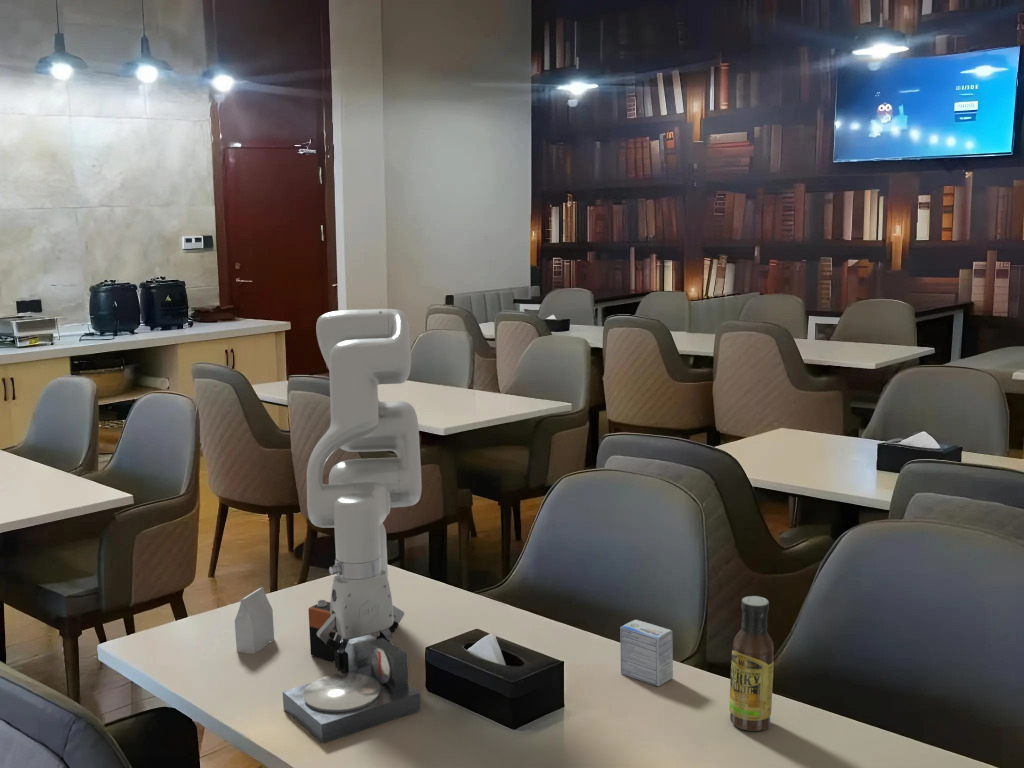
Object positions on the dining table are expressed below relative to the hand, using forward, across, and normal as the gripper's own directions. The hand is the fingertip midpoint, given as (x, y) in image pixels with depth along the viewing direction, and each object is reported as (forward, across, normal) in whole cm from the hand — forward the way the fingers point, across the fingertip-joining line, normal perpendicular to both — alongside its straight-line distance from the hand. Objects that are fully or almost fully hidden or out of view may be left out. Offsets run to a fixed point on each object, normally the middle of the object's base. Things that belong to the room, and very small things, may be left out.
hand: (363, 665), depth 182 cm
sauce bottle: (+2, +38, -53) cm, 65 cm away
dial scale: (+1, -8, -11) cm, 14 cm away
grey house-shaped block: (+2, -10, +23) cm, 25 cm away
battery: (+2, -1, +10) cm, 10 cm away
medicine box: (+2, +37, -31) cm, 48 cm away
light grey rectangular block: (+1, 0, 0) cm, 1 cm away
